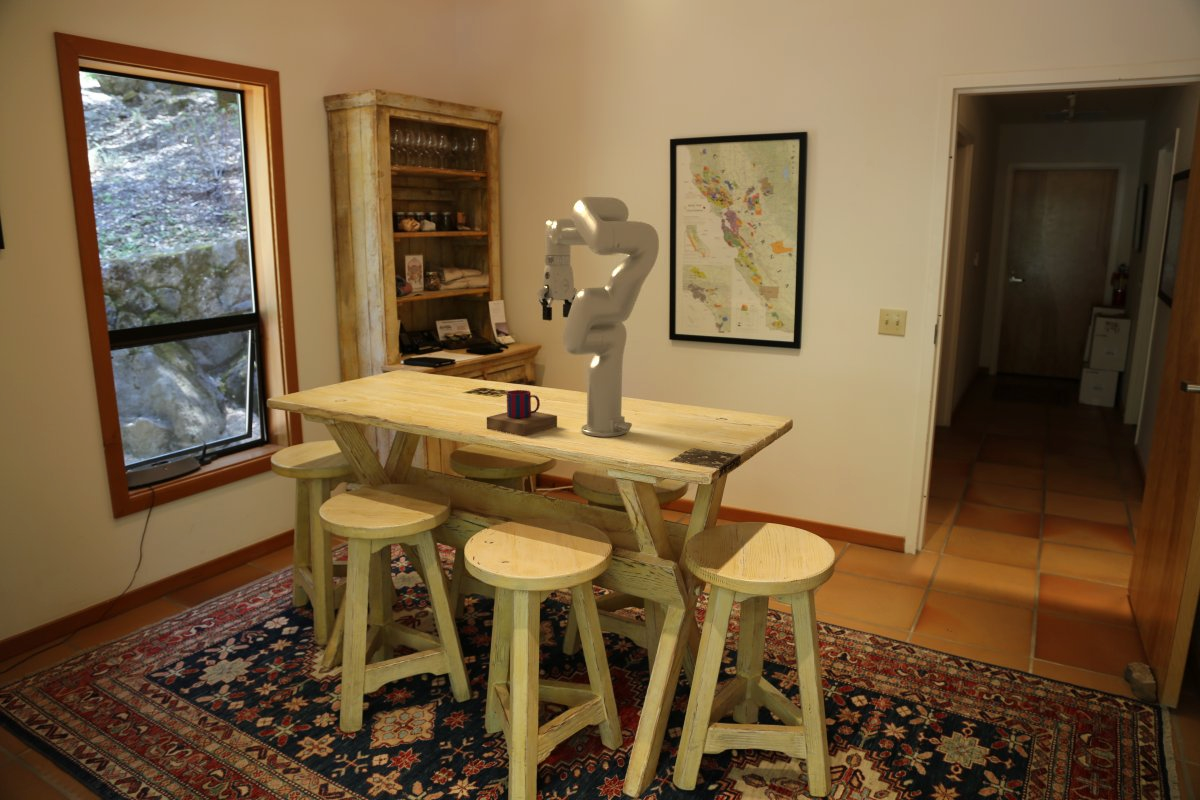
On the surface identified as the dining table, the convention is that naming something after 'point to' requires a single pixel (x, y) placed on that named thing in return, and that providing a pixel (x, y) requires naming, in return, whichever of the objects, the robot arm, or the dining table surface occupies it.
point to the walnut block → (522, 423)
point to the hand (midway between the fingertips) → (557, 318)
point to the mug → (520, 404)
